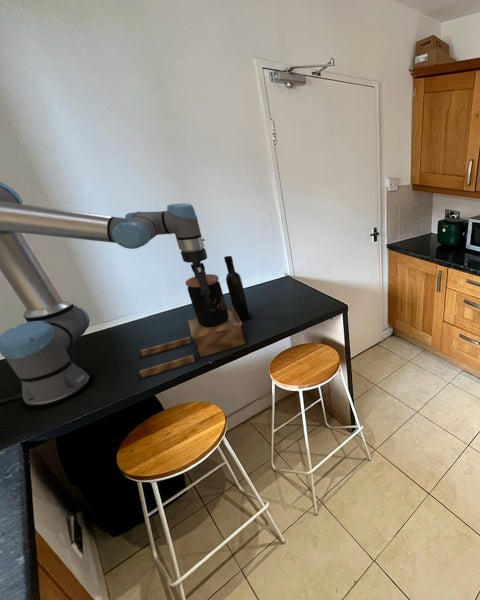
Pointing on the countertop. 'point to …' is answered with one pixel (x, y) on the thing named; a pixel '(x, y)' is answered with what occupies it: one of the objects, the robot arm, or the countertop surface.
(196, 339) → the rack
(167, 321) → the countertop surface
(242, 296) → the wine bottle
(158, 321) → the countertop surface
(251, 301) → the countertop surface
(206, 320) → the coffee jar
